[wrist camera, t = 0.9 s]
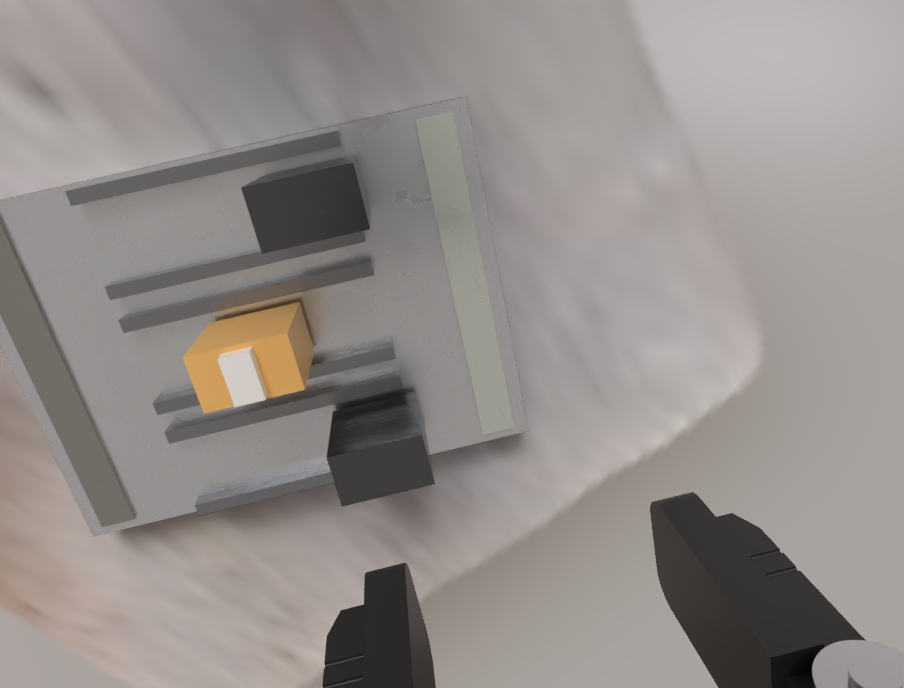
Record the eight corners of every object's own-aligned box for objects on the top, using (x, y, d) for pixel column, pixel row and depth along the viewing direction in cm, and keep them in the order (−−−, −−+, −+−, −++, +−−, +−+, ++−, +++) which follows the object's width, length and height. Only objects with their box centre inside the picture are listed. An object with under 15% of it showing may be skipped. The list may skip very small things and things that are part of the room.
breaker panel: (-35, 207, 28) (-156, 234, 22) (460, 97, 29) (484, 92, 22) (109, 513, 33) (46, 606, 27) (520, 413, 34) (553, 481, 28)
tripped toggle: (210, 322, 28) (177, 363, 24) (299, 301, 29) (285, 338, 24) (227, 371, 29) (200, 420, 25) (314, 351, 29) (303, 396, 25)
